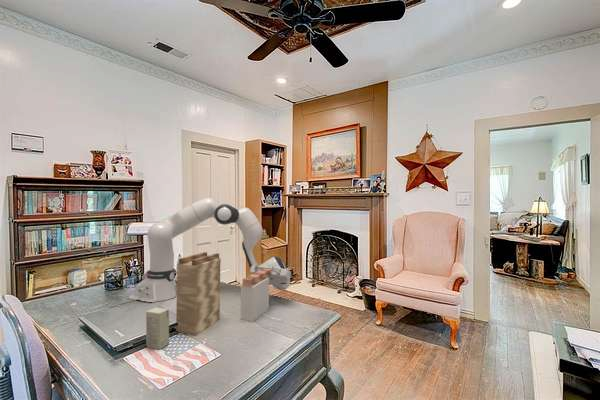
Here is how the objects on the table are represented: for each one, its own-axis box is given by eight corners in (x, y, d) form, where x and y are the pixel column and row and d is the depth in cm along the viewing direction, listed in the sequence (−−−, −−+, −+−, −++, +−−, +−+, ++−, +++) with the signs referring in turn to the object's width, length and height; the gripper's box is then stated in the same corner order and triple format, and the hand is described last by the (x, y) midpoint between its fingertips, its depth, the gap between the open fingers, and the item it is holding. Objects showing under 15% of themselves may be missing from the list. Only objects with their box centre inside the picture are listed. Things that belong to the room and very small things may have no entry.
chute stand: (201, 316, 122) (203, 252, 122) (219, 319, 119) (220, 253, 119) (176, 331, 108) (177, 258, 108) (195, 335, 105) (196, 260, 105)
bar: (263, 274, 138) (264, 268, 138) (271, 275, 136) (271, 269, 137) (242, 285, 119) (242, 278, 119) (250, 287, 118) (251, 279, 118)
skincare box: (169, 343, 99) (170, 309, 99) (159, 350, 94) (160, 313, 95) (155, 340, 101) (155, 306, 101) (145, 346, 97) (145, 310, 97)
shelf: (257, 307, 134) (257, 276, 134) (268, 309, 132) (269, 278, 132) (240, 319, 120) (241, 285, 120) (252, 321, 118) (253, 287, 118)
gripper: (258, 268, 150) (246, 259, 138) (293, 271, 143) (285, 263, 132) (254, 279, 147) (243, 271, 135) (291, 284, 140) (282, 276, 129)
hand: (264, 267), depth 134 cm, fingers open, 8 cm apart
